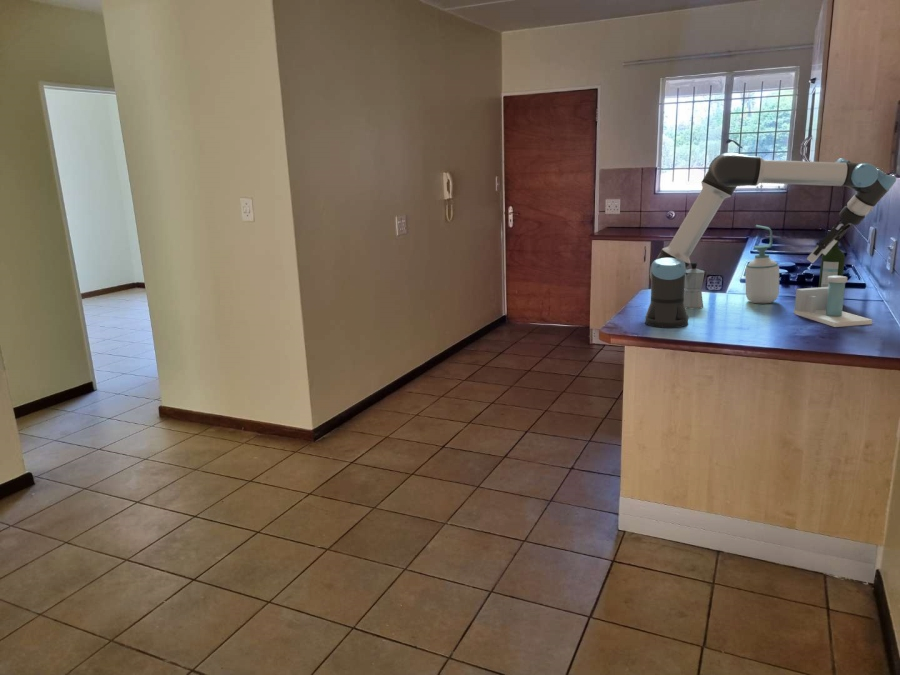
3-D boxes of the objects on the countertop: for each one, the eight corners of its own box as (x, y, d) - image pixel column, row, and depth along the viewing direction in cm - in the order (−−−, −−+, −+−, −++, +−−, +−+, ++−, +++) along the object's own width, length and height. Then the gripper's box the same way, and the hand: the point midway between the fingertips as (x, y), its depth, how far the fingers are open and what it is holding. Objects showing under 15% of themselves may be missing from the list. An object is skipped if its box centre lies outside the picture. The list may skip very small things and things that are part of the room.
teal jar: (847, 315, 231) (851, 277, 227) (831, 316, 230) (835, 278, 227) (835, 312, 237) (839, 275, 233) (820, 313, 236) (823, 276, 233)
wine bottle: (838, 301, 261) (846, 226, 253) (841, 305, 254) (849, 228, 246) (816, 300, 264) (823, 226, 256) (817, 304, 257) (825, 228, 250)
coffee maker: (693, 310, 258) (695, 265, 253) (673, 307, 264) (675, 263, 260) (713, 304, 267) (715, 260, 262) (693, 301, 273) (695, 259, 269)
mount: (871, 323, 225) (875, 297, 223) (834, 327, 223) (837, 300, 221) (828, 311, 246) (830, 286, 244) (793, 313, 245) (796, 288, 242)
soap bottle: (744, 298, 274) (743, 224, 266) (777, 296, 269) (777, 221, 262) (746, 305, 263) (745, 228, 255) (780, 303, 258) (781, 225, 251)
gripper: (854, 223, 220) (813, 270, 234) (875, 210, 236) (835, 255, 250) (835, 210, 223) (795, 258, 237) (857, 198, 239) (818, 243, 253)
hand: (816, 256), depth 244 cm, fingers open, 13 cm apart
